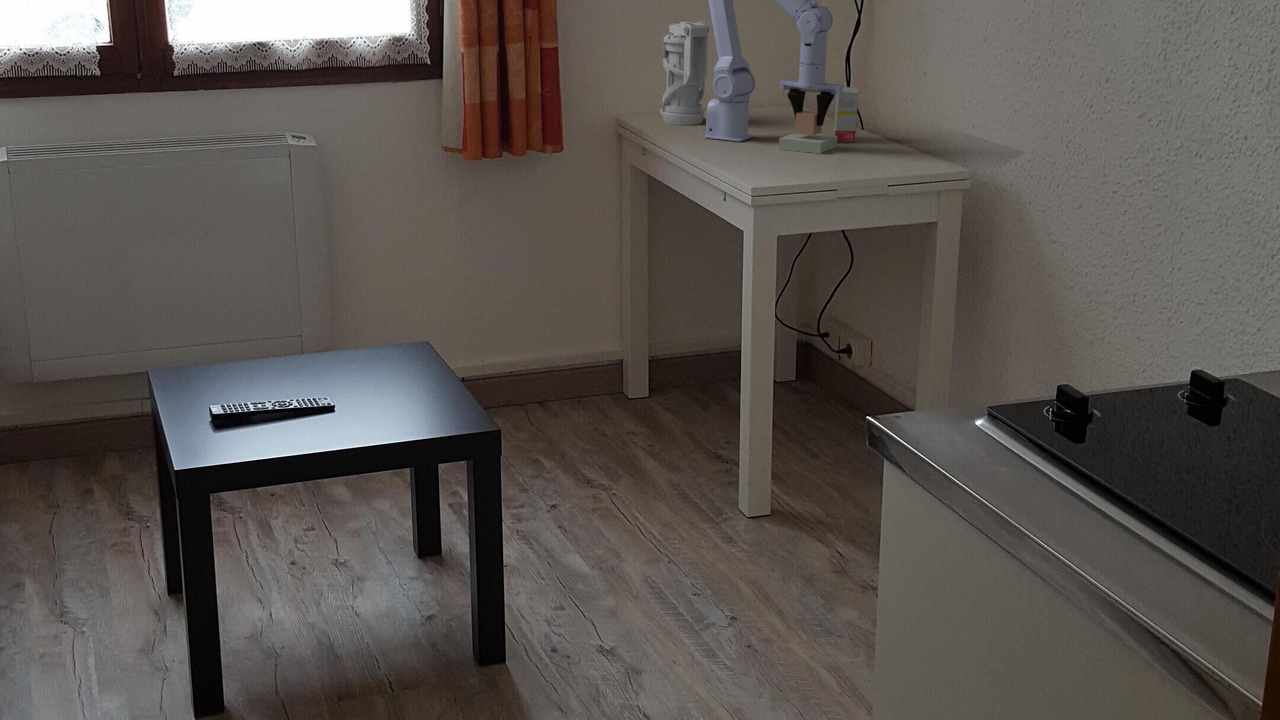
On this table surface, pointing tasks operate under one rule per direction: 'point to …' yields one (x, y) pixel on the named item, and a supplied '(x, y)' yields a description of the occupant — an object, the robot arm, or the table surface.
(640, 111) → the table surface
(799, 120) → the terracotta cube
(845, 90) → the ink box
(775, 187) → the table surface
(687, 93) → the lantern
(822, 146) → the sage slab
